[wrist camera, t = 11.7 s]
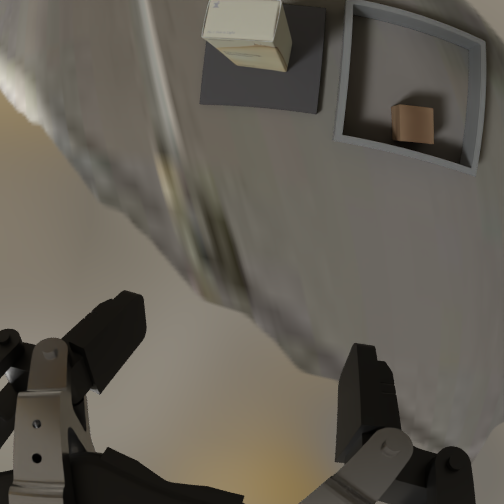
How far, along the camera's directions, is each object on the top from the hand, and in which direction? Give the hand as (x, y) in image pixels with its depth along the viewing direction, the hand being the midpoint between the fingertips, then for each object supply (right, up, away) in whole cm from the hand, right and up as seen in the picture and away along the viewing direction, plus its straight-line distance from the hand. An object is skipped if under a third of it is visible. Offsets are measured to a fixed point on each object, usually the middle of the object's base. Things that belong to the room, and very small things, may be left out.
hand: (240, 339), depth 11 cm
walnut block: (+19, +18, +19) cm, 32 cm away
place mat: (+2, +27, +19) cm, 33 cm away
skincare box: (+2, +26, +19) cm, 32 cm away
